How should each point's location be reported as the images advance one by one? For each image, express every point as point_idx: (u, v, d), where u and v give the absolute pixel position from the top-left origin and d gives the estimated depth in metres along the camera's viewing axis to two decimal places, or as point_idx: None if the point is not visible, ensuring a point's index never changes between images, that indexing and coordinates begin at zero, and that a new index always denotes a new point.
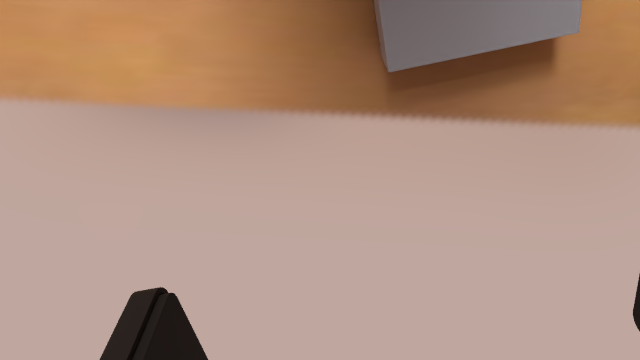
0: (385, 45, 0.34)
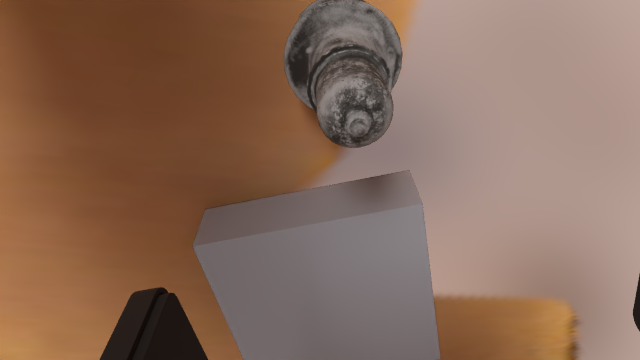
0: None
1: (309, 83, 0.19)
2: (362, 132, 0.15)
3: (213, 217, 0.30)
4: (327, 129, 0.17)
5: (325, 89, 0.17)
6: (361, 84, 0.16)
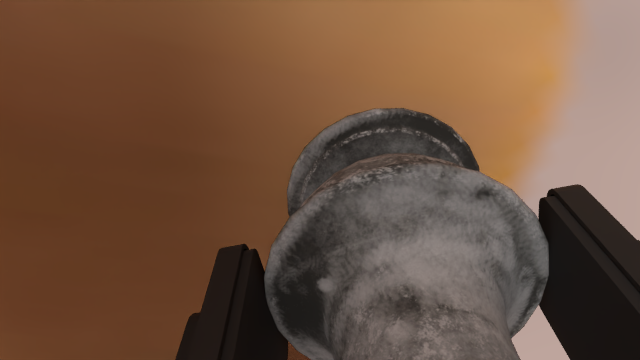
0: None
1: None
2: None
3: None
4: None
5: None
6: None
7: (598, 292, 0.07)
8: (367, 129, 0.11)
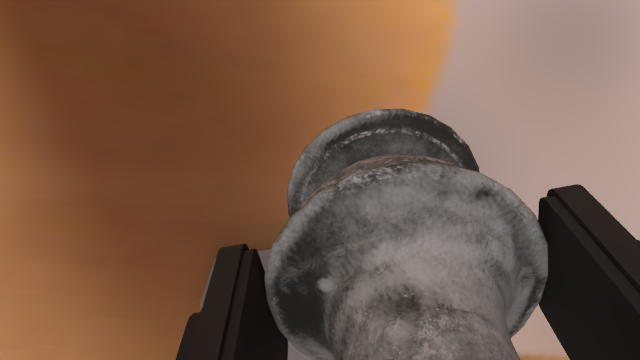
0: None
1: None
2: None
3: None
4: None
5: None
6: None
7: (598, 292, 0.07)
8: (367, 129, 0.11)
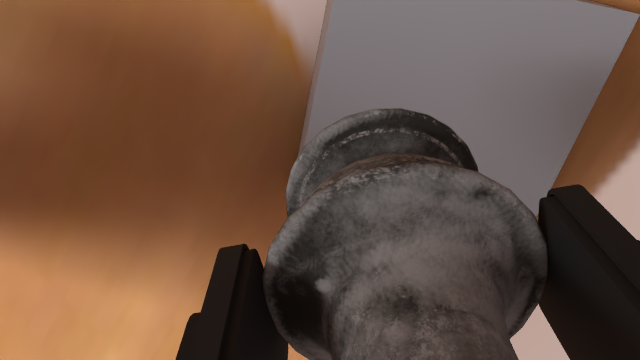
0: None
1: None
2: None
3: None
4: None
5: None
6: None
7: (598, 292, 0.07)
8: (366, 130, 0.11)
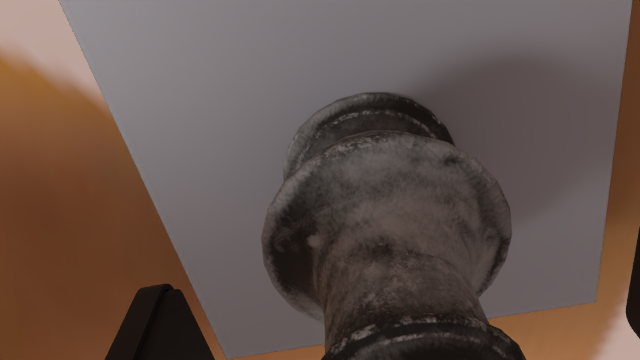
0: (537, 308, 0.17)
1: None
2: None
3: None
4: None
5: None
6: None
7: None
8: (354, 111, 0.12)
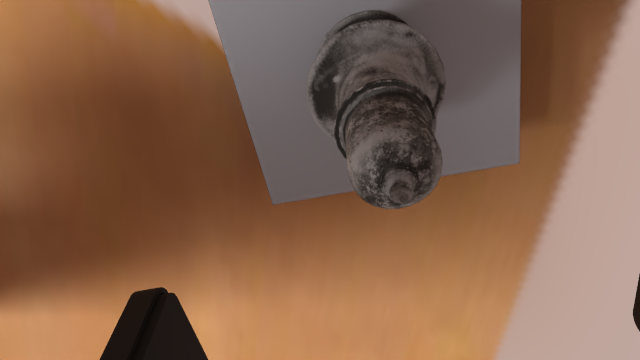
0: (481, 168, 0.25)
1: (337, 123, 0.16)
2: (406, 200, 0.12)
3: None
4: (360, 188, 0.13)
5: (358, 139, 0.13)
6: (405, 136, 0.13)
7: None
8: (360, 21, 0.21)
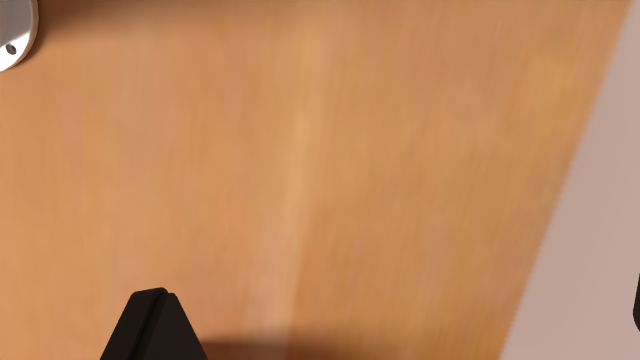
0: None
1: None
2: None
3: None
4: None
5: None
6: None
7: None
8: None
